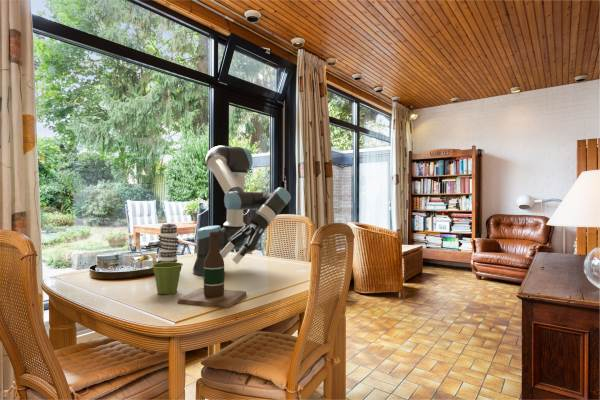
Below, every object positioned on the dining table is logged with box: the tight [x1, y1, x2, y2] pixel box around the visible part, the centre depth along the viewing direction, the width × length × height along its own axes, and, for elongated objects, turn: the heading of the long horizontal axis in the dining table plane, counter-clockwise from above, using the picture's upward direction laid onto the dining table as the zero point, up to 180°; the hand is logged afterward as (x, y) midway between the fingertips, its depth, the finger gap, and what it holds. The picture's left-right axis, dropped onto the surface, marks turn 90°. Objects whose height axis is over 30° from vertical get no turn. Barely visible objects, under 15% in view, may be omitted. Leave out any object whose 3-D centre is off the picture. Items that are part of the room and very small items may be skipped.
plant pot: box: [151, 261, 184, 296], centre depth 137 cm, size 12×12×11 cm
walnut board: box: [177, 287, 247, 309], centre depth 129 cm, size 20×16×2 cm
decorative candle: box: [158, 222, 179, 263], centre depth 169 cm, size 9×9×25 cm
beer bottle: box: [203, 232, 225, 298], centre depth 129 cm, size 8×8×24 cm
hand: (227, 258), depth 131 cm, fingers open, 13 cm apart
